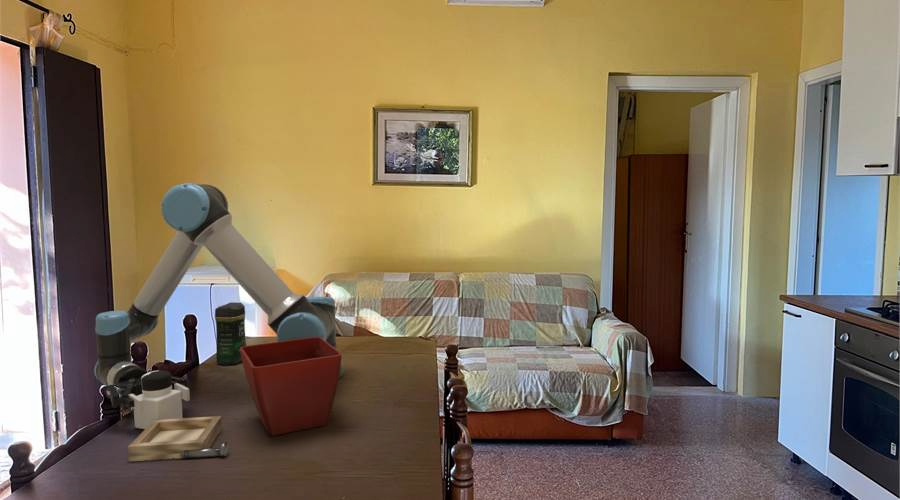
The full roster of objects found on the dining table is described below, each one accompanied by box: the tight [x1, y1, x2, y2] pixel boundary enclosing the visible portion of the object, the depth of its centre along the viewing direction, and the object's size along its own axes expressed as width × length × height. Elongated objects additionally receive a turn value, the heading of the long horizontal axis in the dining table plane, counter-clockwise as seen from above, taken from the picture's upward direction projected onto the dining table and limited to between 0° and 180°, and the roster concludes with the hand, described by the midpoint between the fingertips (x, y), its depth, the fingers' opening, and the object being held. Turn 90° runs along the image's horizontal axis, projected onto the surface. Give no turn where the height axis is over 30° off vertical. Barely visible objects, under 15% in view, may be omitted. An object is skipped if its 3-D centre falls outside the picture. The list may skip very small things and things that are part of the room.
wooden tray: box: [127, 415, 223, 462], centre depth 122 cm, size 14×14×3 cm
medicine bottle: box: [133, 369, 184, 430], centre depth 132 cm, size 7×7×12 cm
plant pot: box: [240, 337, 343, 437], centre depth 133 cm, size 19×19×17 cm
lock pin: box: [180, 441, 229, 459], centre depth 116 cm, size 9×3×3 cm, turn 97°
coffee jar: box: [214, 301, 247, 366], centre depth 183 cm, size 10×8×19 cm
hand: (165, 400), depth 129 cm, fingers closed on medicine bottle, 9 cm apart
